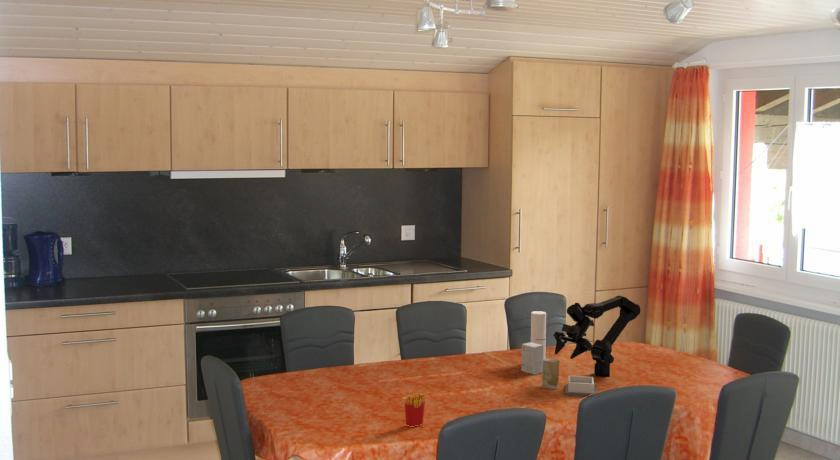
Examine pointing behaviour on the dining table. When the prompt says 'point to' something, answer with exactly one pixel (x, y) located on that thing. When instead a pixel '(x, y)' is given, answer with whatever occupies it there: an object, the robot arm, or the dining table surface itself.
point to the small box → (532, 358)
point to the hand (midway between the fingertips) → (563, 356)
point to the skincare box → (550, 373)
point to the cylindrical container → (538, 329)
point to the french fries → (414, 409)
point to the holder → (580, 386)
